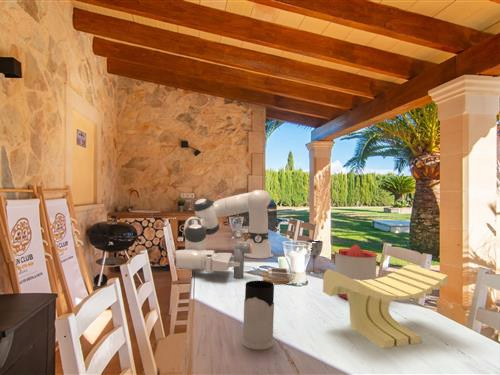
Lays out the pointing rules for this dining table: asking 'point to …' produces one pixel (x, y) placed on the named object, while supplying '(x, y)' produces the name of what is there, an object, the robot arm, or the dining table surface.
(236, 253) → the pipe elbow
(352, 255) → the citrus juicer
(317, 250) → the wine glass
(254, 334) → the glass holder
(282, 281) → the collar plate
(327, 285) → the slatted curved stool
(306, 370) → the dining table surface
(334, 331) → the dining table surface
